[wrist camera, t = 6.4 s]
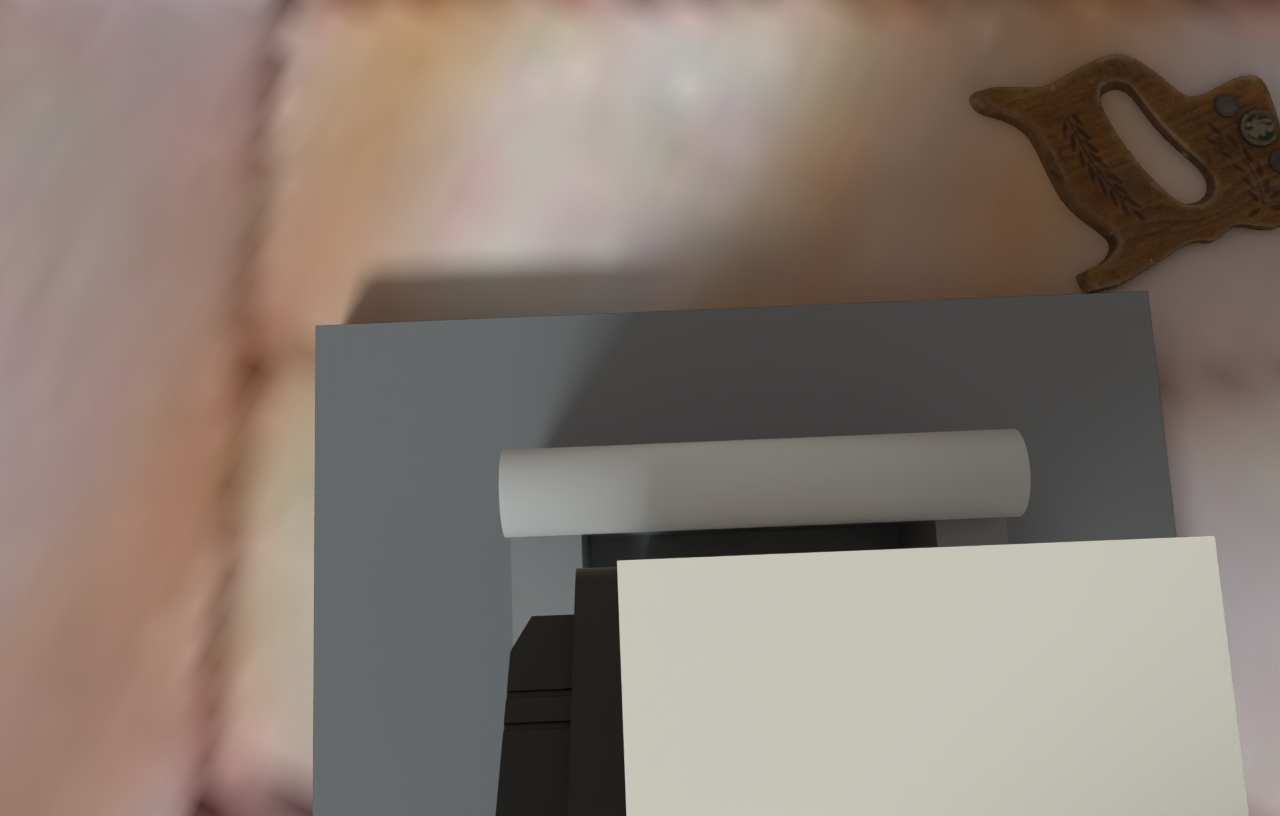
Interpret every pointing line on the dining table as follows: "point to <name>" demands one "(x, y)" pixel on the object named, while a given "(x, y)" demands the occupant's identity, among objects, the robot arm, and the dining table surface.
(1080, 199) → the hand saw
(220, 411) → the dining table surface
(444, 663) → the grey socket base
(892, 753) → the cream rectangular block
